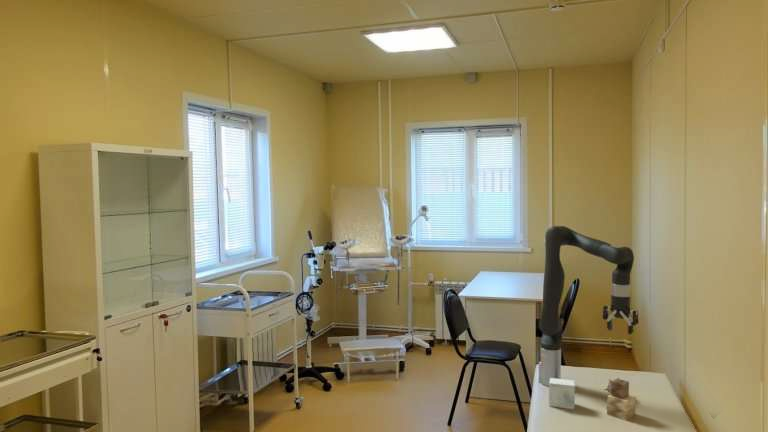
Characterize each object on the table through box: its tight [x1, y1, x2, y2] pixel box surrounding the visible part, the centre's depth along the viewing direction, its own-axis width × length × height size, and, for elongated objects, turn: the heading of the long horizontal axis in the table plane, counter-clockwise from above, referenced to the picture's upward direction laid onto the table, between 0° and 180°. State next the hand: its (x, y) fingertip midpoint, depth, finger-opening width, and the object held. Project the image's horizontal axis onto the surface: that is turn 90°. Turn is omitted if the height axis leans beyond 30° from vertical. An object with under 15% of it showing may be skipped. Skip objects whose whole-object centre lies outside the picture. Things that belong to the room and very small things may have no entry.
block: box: [611, 378, 630, 399], centre depth 227 cm, size 5×5×6 cm
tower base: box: [606, 405, 636, 421], centre depth 228 cm, size 8×8×4 cm
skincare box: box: [548, 378, 576, 410], centre depth 238 cm, size 10×6×10 cm, turn 70°
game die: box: [604, 377, 620, 395], centre depth 246 cm, size 9×8×10 cm
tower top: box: [606, 393, 637, 411], centre depth 228 cm, size 8×8×4 cm
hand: (619, 332), depth 235 cm, fingers open, 8 cm apart
